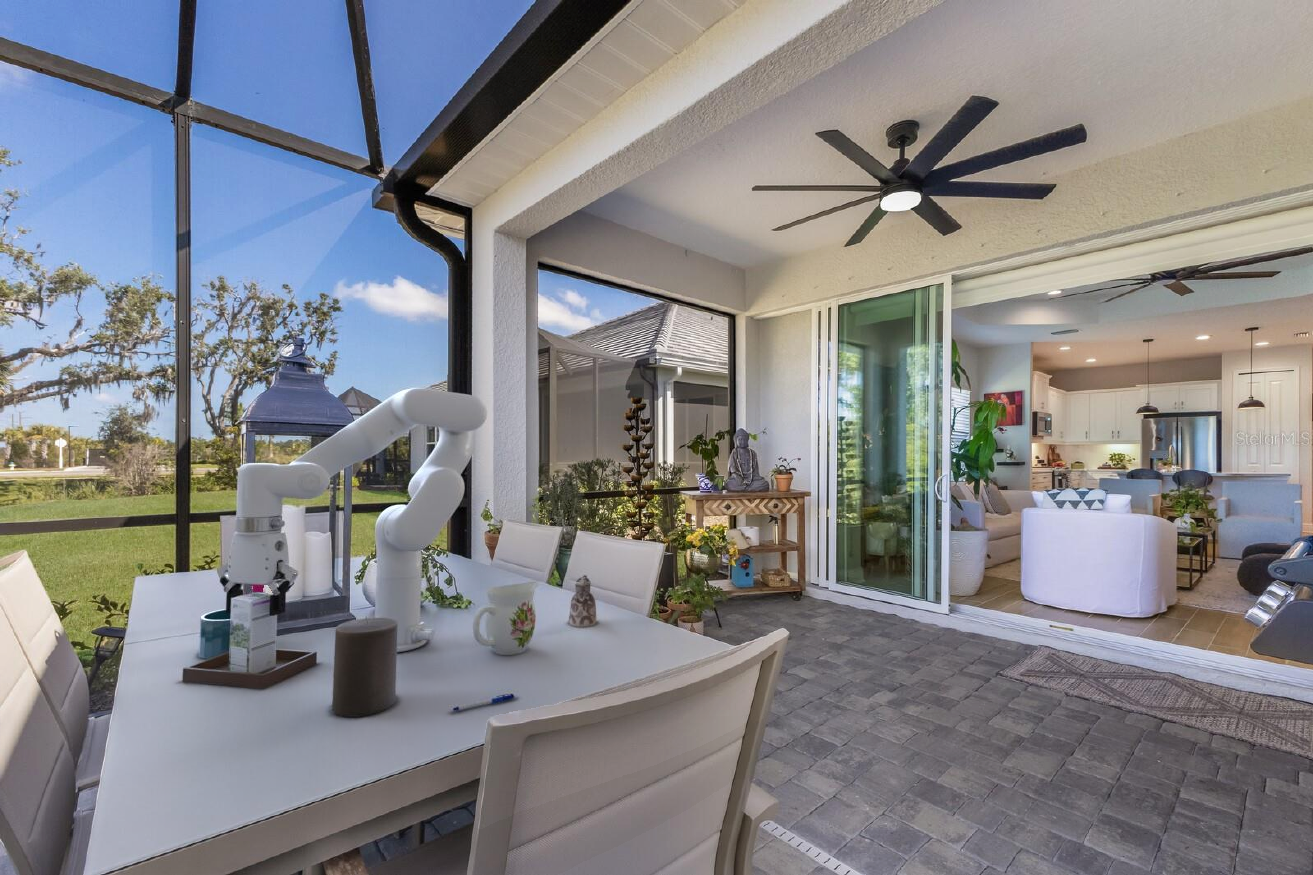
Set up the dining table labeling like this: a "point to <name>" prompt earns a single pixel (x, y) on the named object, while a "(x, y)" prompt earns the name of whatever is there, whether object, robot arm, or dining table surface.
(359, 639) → the pillar candle
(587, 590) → the figurine
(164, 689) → the dining table surface
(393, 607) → the robot arm
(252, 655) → the syrup box
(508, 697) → the ballpoint pen
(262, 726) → the dining table surface
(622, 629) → the dining table surface
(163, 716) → the dining table surface
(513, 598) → the pitcher
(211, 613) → the cup
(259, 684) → the tray
